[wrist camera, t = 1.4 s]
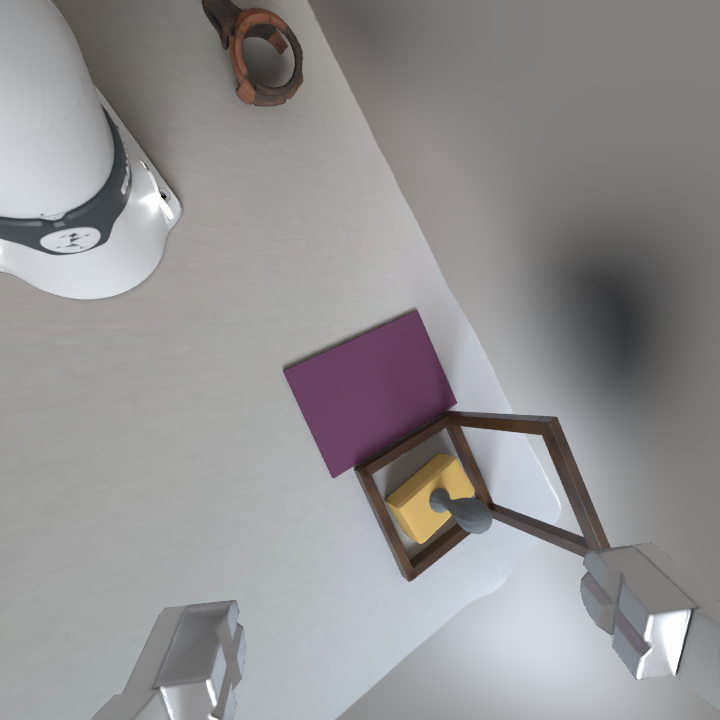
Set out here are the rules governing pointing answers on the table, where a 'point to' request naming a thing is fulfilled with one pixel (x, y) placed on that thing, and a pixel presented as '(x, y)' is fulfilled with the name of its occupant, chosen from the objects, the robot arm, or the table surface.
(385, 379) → the felt pad
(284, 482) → the table surface
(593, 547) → the stamp rack
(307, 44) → the table surface
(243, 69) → the brown curved ring part
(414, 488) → the rubber stamp
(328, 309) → the table surface
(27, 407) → the table surface
